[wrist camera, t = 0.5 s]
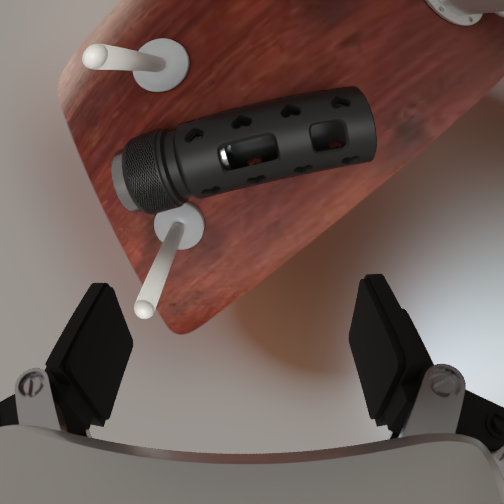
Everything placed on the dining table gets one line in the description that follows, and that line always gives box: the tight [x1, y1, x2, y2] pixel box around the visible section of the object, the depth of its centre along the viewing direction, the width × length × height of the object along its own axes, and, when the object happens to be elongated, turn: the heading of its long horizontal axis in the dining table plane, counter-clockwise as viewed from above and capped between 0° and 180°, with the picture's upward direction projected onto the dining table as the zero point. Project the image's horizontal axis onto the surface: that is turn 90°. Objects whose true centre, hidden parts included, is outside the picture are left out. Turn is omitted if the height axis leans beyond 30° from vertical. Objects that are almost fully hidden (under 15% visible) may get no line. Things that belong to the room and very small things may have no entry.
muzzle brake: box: [111, 86, 377, 214], centre depth 34 cm, size 10×28×10 cm, turn 104°
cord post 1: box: [82, 38, 190, 92], centre depth 24 cm, size 7×7×20 cm
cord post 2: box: [134, 201, 205, 319], centre depth 35 cm, size 7×7×20 cm
